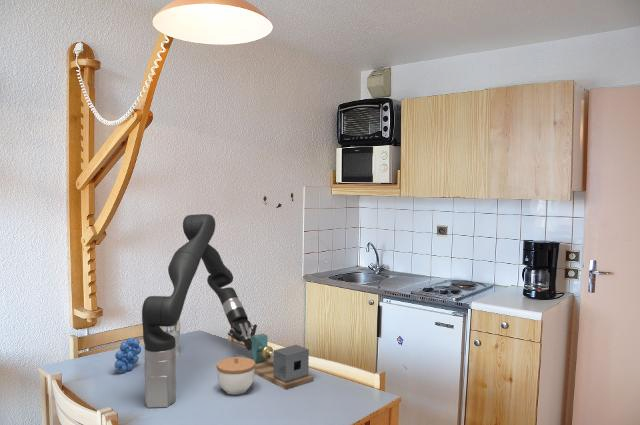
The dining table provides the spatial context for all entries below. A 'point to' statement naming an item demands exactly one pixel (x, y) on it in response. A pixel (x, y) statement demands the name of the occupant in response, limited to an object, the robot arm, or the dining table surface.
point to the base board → (267, 372)
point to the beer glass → (174, 333)
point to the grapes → (127, 355)
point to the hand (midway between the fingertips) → (251, 349)
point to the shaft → (261, 348)
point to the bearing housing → (291, 363)
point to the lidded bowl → (235, 374)
